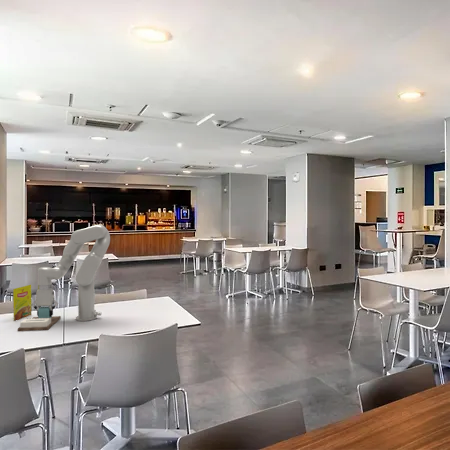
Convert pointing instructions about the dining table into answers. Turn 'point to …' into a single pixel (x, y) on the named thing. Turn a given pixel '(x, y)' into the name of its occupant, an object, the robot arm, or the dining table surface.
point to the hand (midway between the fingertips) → (45, 316)
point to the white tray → (35, 322)
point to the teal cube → (43, 312)
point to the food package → (22, 302)
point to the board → (53, 321)
